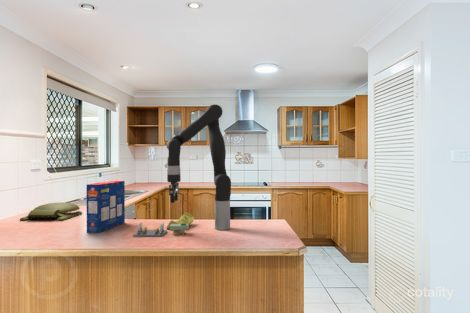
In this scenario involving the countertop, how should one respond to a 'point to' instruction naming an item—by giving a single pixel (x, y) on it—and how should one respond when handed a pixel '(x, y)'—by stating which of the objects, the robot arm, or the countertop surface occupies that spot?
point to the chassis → (150, 231)
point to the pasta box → (105, 205)
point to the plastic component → (183, 220)
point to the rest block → (178, 232)
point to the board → (179, 226)
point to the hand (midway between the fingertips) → (174, 201)
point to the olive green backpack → (53, 211)
